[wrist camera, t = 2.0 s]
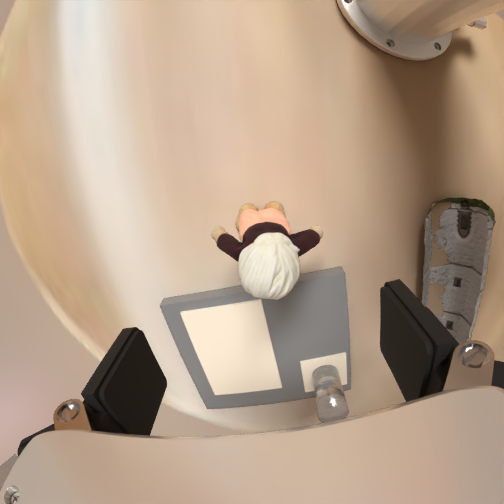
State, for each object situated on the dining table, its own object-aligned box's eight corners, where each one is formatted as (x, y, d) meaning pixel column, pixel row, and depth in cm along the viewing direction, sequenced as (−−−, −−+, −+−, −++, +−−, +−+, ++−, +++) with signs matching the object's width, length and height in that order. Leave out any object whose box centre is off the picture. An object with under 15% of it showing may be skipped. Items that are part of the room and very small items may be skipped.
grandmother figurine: (230, 247, 27) (206, 328, 15) (219, 207, 26) (182, 263, 14) (313, 229, 26) (351, 299, 14) (305, 187, 25) (342, 227, 13)
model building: (436, 188, 27) (420, 361, 35) (421, 203, 22) (401, 394, 31) (496, 194, 21) (462, 374, 30) (496, 212, 17) (448, 409, 26)
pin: (337, 362, 29) (348, 402, 24) (338, 380, 30) (348, 419, 25) (310, 367, 30) (317, 409, 24) (312, 385, 31) (319, 425, 25)
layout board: (341, 266, 27) (345, 274, 26) (348, 381, 33) (351, 391, 31) (164, 298, 29) (158, 307, 28) (209, 400, 35) (207, 410, 33)
